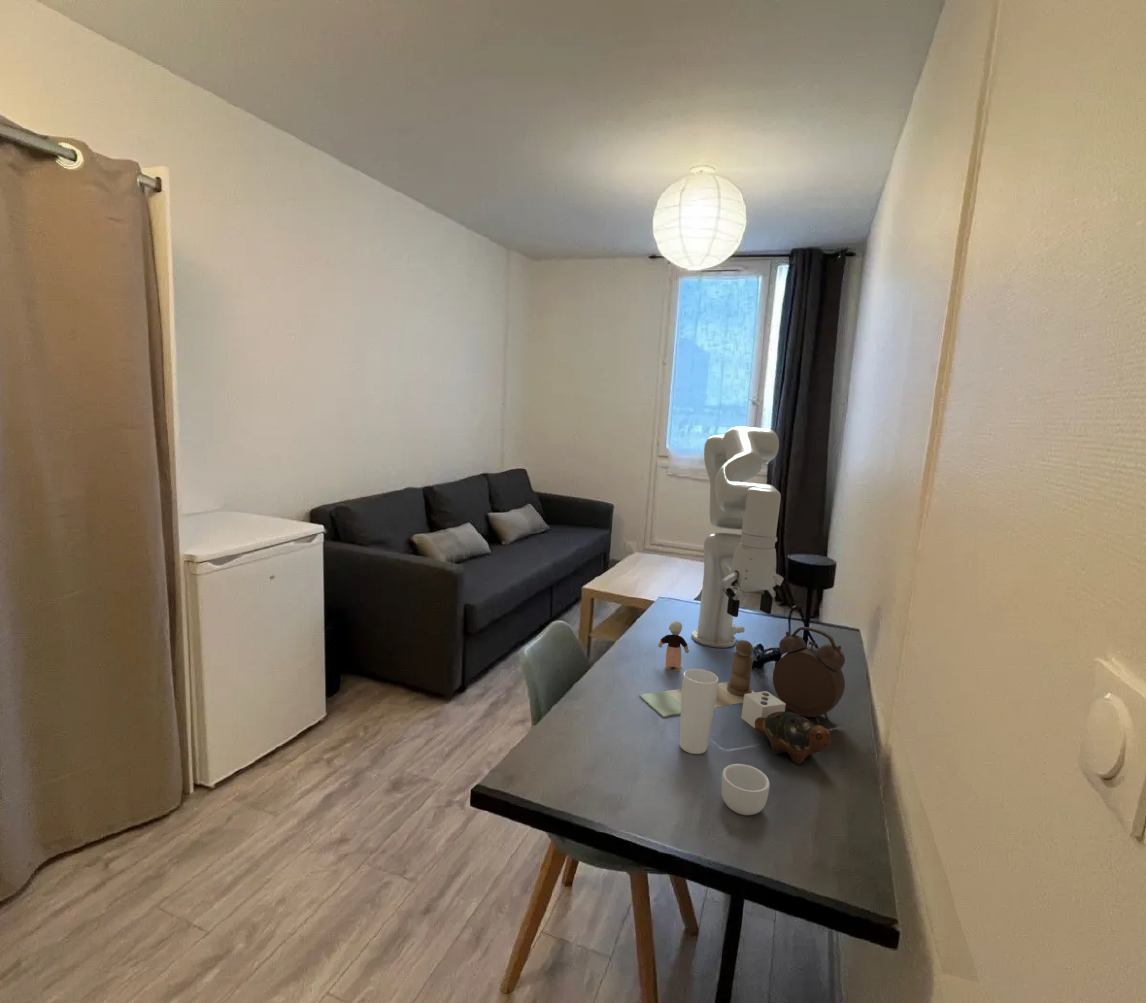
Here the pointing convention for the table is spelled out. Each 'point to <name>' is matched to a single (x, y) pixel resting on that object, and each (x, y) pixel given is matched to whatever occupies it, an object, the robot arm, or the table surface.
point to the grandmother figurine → (674, 646)
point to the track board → (671, 700)
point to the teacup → (744, 789)
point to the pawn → (741, 669)
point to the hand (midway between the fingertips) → (748, 613)
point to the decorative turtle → (793, 735)
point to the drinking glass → (697, 709)
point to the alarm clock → (809, 675)
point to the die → (760, 706)
